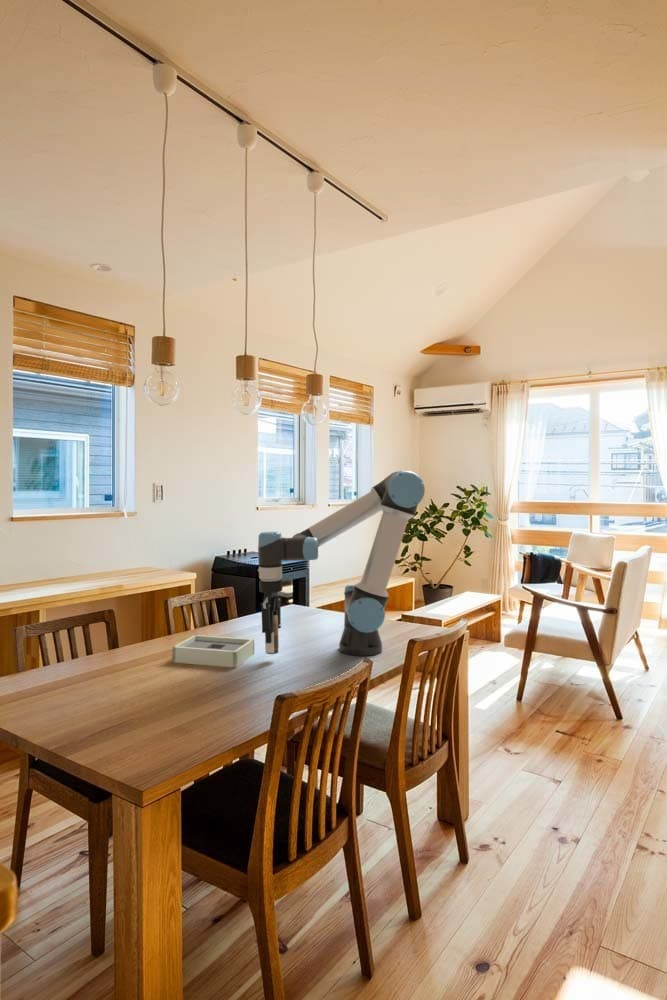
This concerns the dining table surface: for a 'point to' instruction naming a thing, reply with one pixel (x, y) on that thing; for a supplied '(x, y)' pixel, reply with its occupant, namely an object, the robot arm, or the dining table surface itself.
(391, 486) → the robot arm
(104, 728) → the dining table surface
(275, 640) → the peg
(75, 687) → the dining table surface
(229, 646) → the box
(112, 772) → the dining table surface
